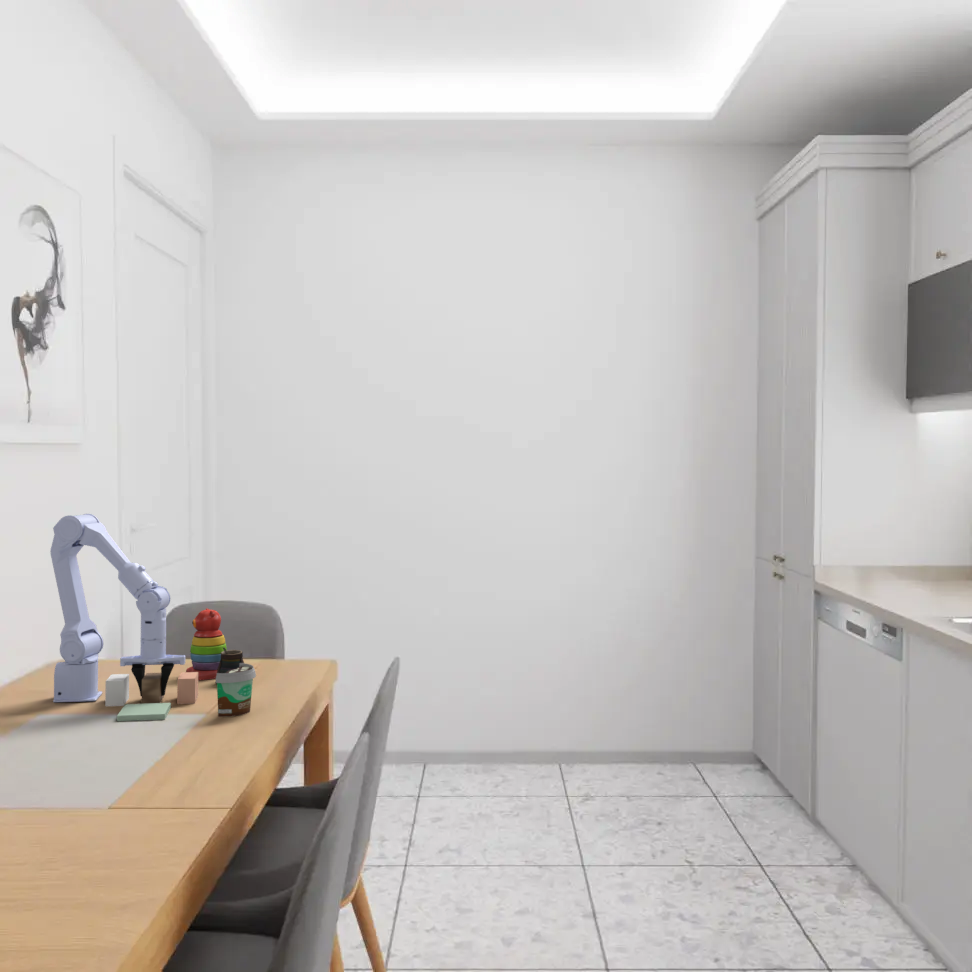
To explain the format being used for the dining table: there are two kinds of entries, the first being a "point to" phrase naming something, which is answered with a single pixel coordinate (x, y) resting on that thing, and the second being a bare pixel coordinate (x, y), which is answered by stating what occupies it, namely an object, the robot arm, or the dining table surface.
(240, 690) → the food container
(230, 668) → the mate gourd
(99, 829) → the dining table surface
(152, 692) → the walnut brick
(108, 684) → the pale grey brick
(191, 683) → the terracotta brick
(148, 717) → the sage green board
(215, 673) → the stacking bear
